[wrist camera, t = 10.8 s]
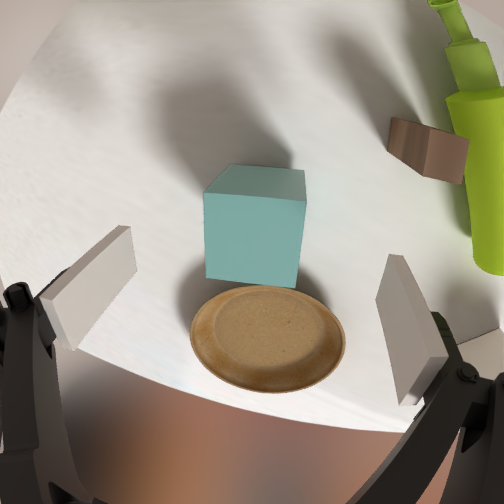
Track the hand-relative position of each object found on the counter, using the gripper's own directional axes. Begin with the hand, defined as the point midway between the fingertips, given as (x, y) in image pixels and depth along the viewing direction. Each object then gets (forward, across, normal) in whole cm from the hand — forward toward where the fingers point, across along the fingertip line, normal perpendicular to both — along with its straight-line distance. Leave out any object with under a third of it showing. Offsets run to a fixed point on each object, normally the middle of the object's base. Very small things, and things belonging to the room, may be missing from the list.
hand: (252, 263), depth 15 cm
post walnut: (+10, -10, -6) cm, 15 cm away
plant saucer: (+10, -1, +14) cm, 17 cm away
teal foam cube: (+8, 0, 0) cm, 8 cm away
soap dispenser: (+6, -20, +1) cm, 21 cm away
